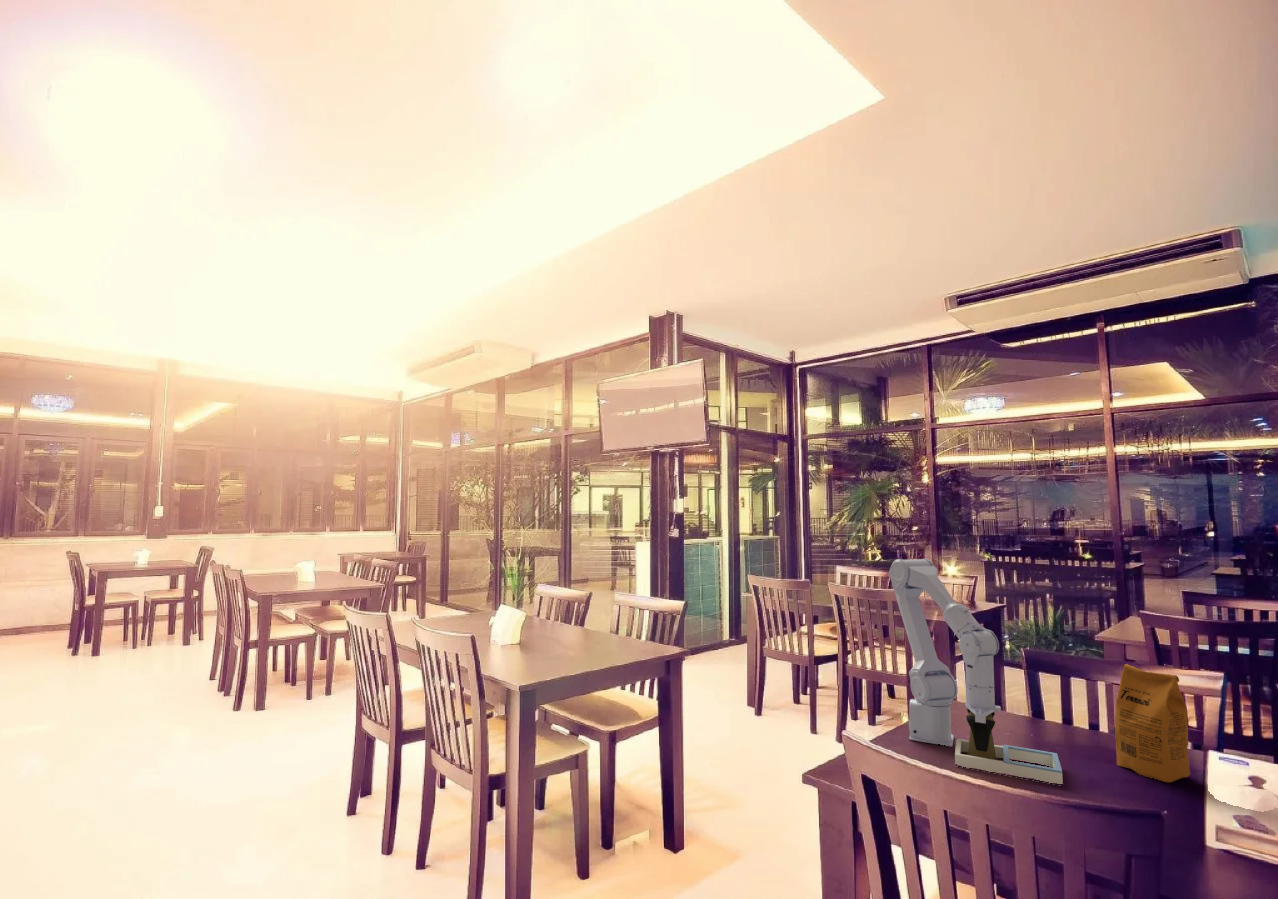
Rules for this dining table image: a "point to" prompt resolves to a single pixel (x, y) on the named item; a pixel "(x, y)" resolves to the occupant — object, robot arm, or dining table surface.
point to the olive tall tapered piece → (991, 750)
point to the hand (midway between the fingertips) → (981, 746)
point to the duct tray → (1013, 762)
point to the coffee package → (1151, 725)
